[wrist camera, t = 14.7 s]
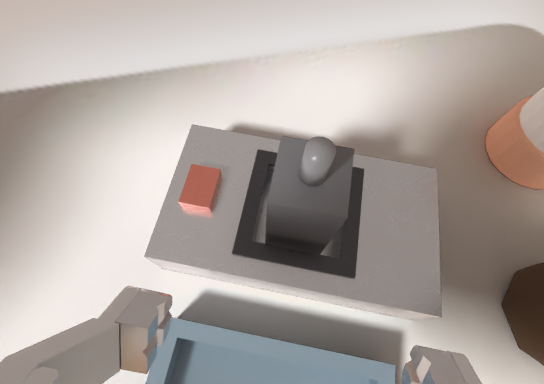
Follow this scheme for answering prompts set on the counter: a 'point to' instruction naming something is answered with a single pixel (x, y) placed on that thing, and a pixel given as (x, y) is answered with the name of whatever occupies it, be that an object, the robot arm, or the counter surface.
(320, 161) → the plug
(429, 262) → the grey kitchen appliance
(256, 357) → the tray
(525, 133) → the pepper shaker
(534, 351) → the beer bottle
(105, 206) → the counter surface
